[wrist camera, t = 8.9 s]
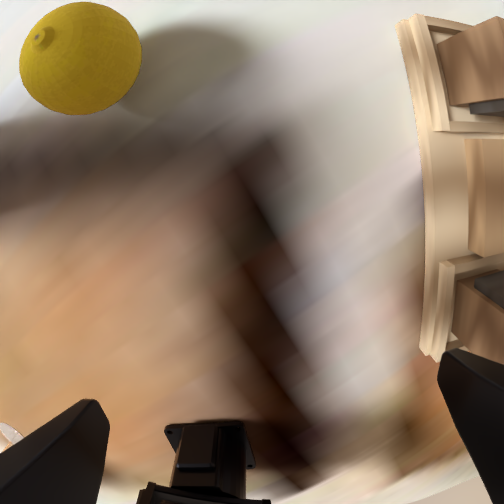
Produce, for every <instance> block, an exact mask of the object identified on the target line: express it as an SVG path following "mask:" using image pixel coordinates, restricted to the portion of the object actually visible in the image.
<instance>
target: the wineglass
mask: <svg viewBox="0 0 504 504" xmlns="http://www.w3.org/2000/svg"><path fill="white" fill-rule="evenodd" d="M0 431H1V432H2V434H3V435H4V436H5V438H6V439H7V440H8V441H9V443H8V444H7V446H6V447H5V449H4V450H3V451H5V450H6V449H8V448H9V447H10V446H11V444H13V445H14V444H16V443H17V442H19V441H20V440H22V439H23V438H24V437H23V436H22V435H21V434H20V433H19V432H18V431H16V430H15V429H14V428H12V427H11V426H9V425H7V424H5V423H0ZM3 451H2V452H3Z"/></svg>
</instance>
